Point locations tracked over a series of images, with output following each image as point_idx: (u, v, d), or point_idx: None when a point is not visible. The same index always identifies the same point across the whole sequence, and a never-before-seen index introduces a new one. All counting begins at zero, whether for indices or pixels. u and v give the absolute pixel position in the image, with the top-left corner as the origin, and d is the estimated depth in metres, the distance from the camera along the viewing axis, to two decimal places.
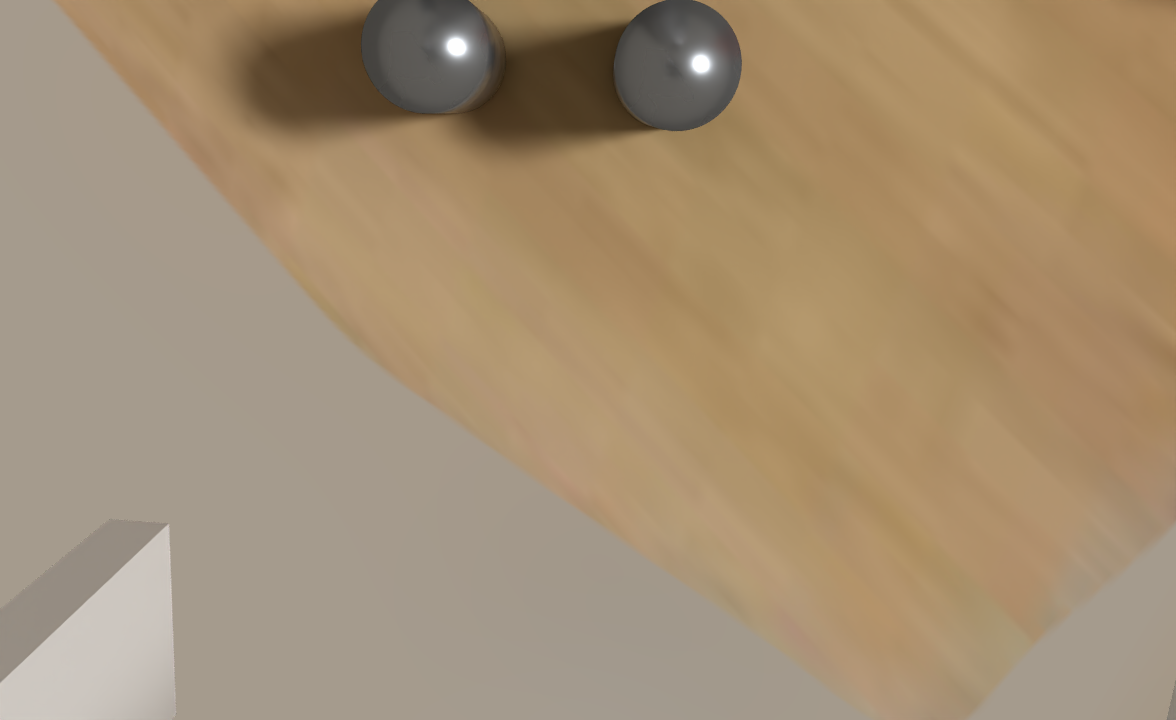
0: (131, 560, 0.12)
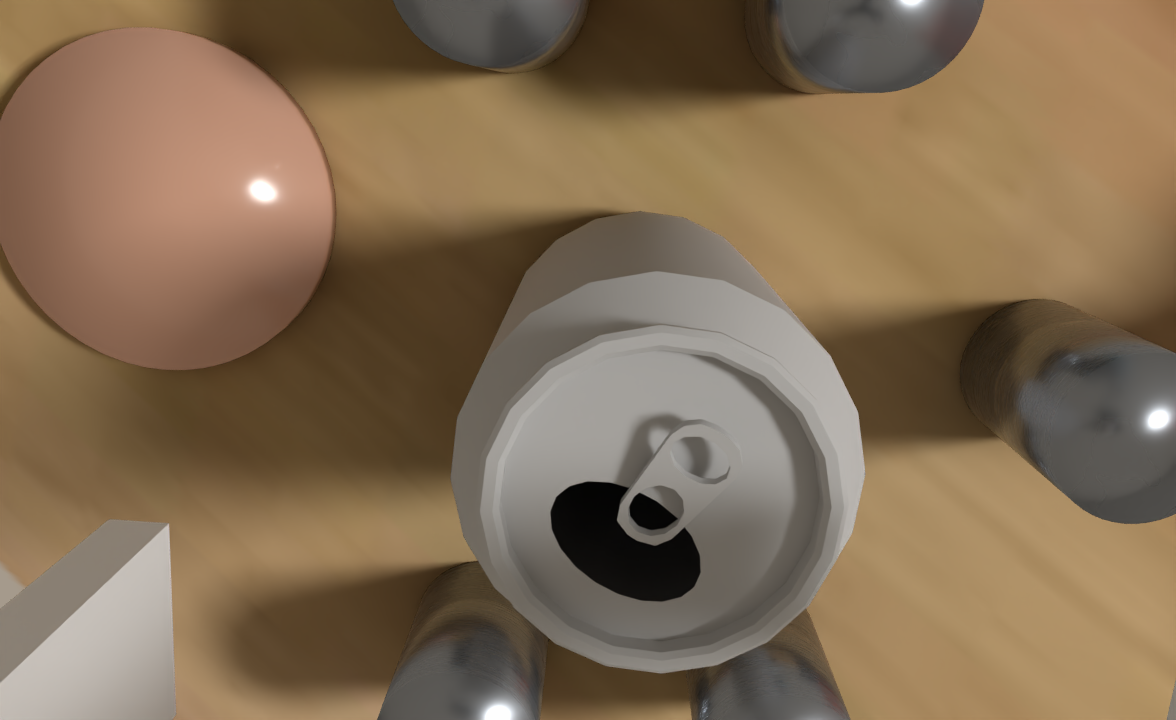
0: (131, 560, 0.12)
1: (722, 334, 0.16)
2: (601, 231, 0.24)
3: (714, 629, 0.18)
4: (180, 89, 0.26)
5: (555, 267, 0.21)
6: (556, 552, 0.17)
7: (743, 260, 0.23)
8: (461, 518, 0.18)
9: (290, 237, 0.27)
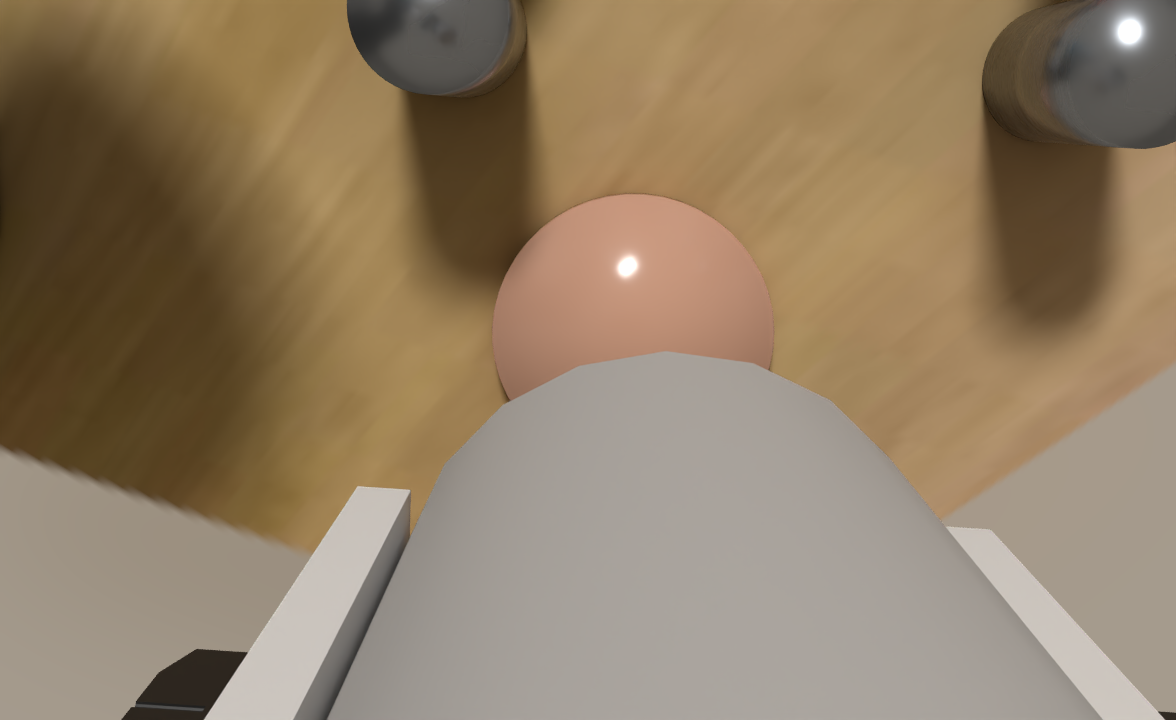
0: (394, 520, 0.13)
1: None
2: (589, 427, 0.11)
3: None
4: (539, 309, 0.32)
5: (470, 566, 0.09)
6: None
7: (913, 504, 0.10)
8: None
9: (661, 229, 0.31)
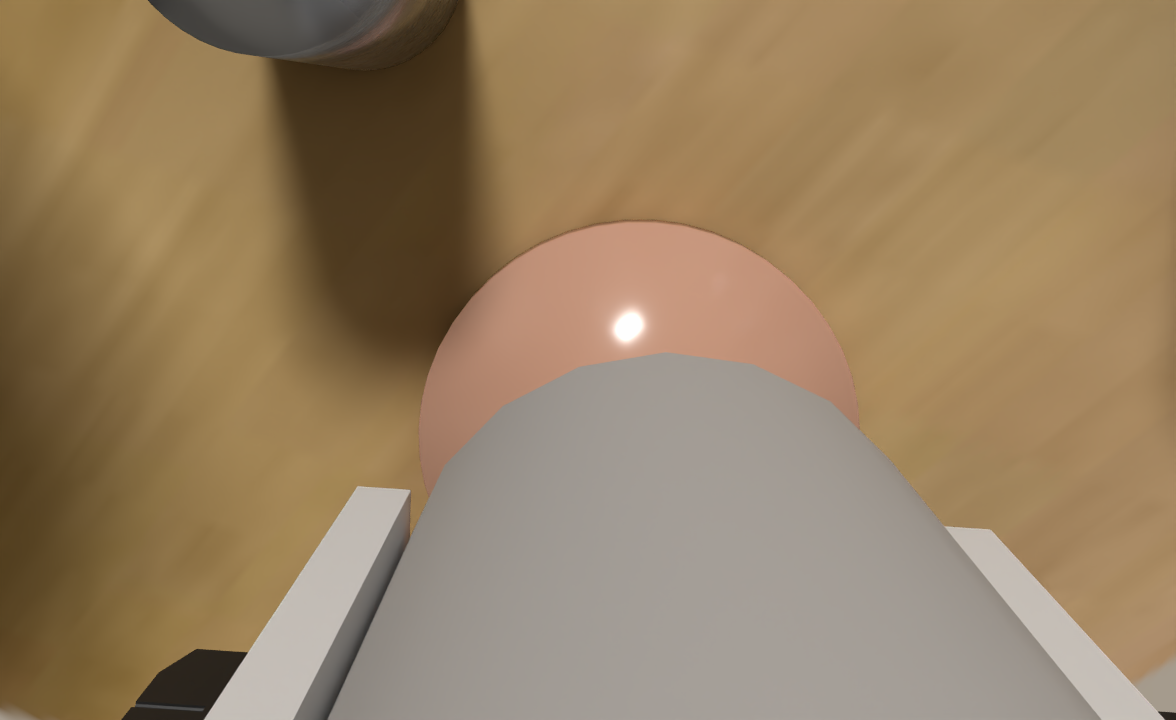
0: (394, 520, 0.13)
1: None
2: (589, 429, 0.11)
3: None
4: (492, 402, 0.20)
5: (470, 568, 0.08)
6: None
7: (913, 506, 0.10)
8: None
9: (682, 278, 0.20)
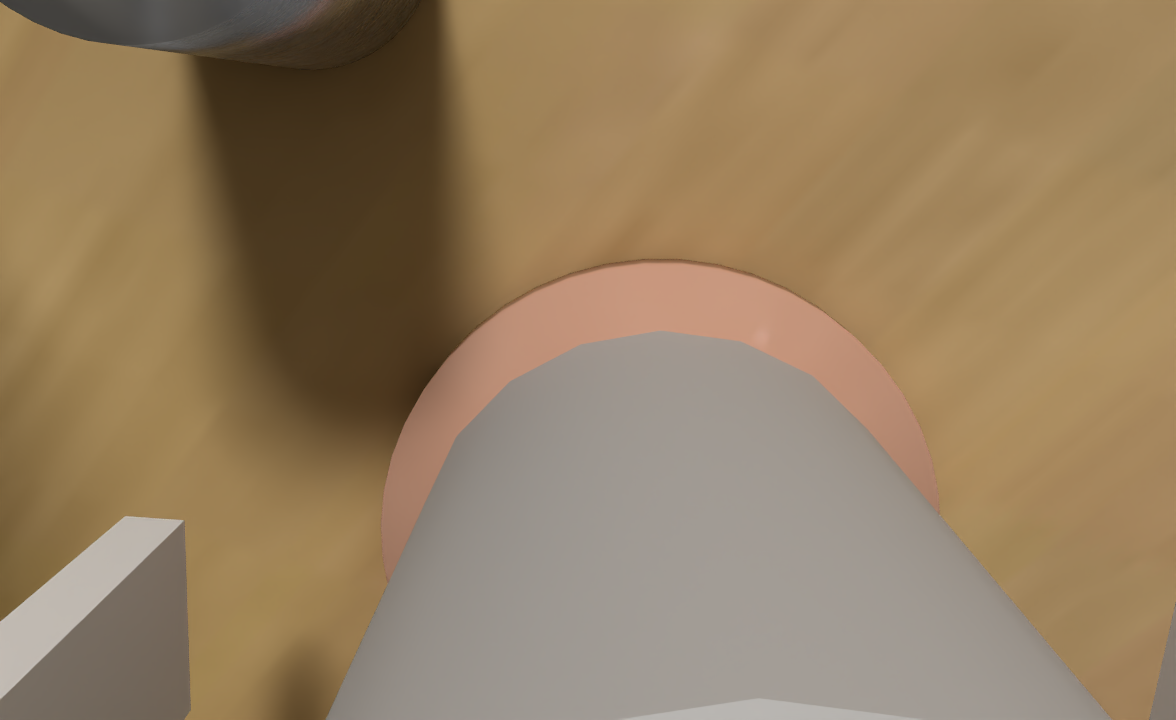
0: (148, 556, 0.12)
1: None
2: (590, 394, 0.12)
3: None
4: None
5: (485, 509, 0.10)
6: None
7: (882, 460, 0.11)
8: None
9: (716, 335, 0.15)
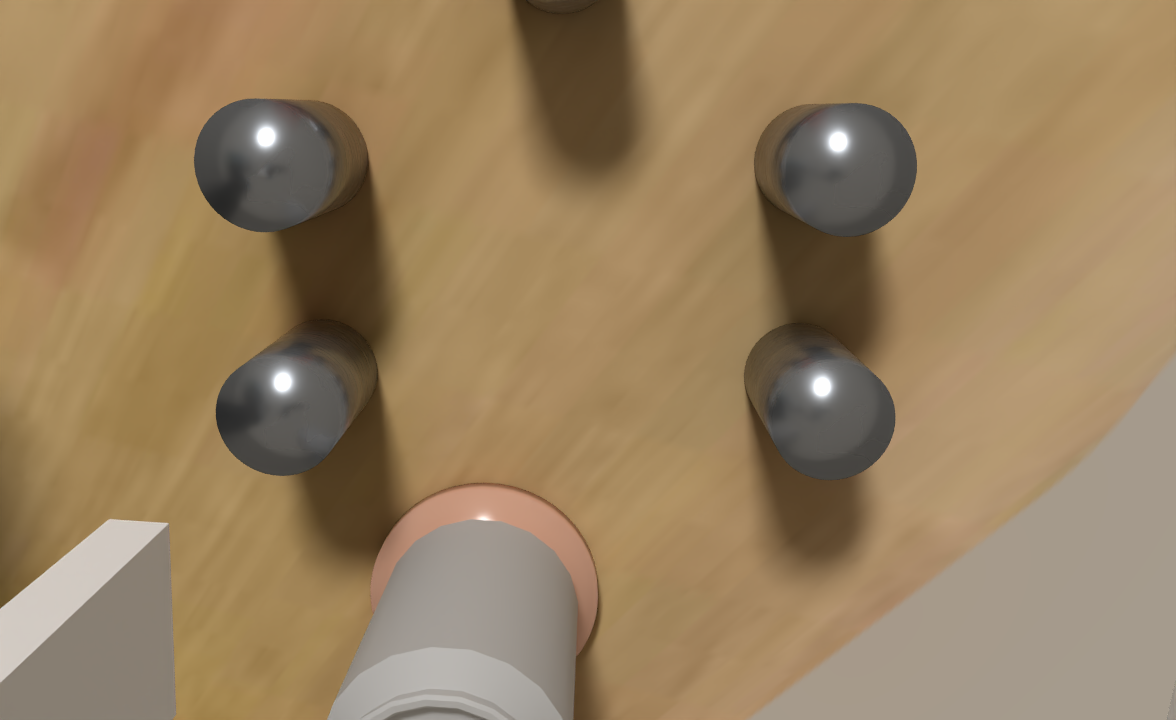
0: (131, 560, 0.12)
1: (461, 697, 0.28)
2: (433, 556, 0.35)
3: None
4: None
5: (394, 602, 0.33)
6: None
7: (526, 575, 0.35)
8: None
9: (498, 515, 0.39)
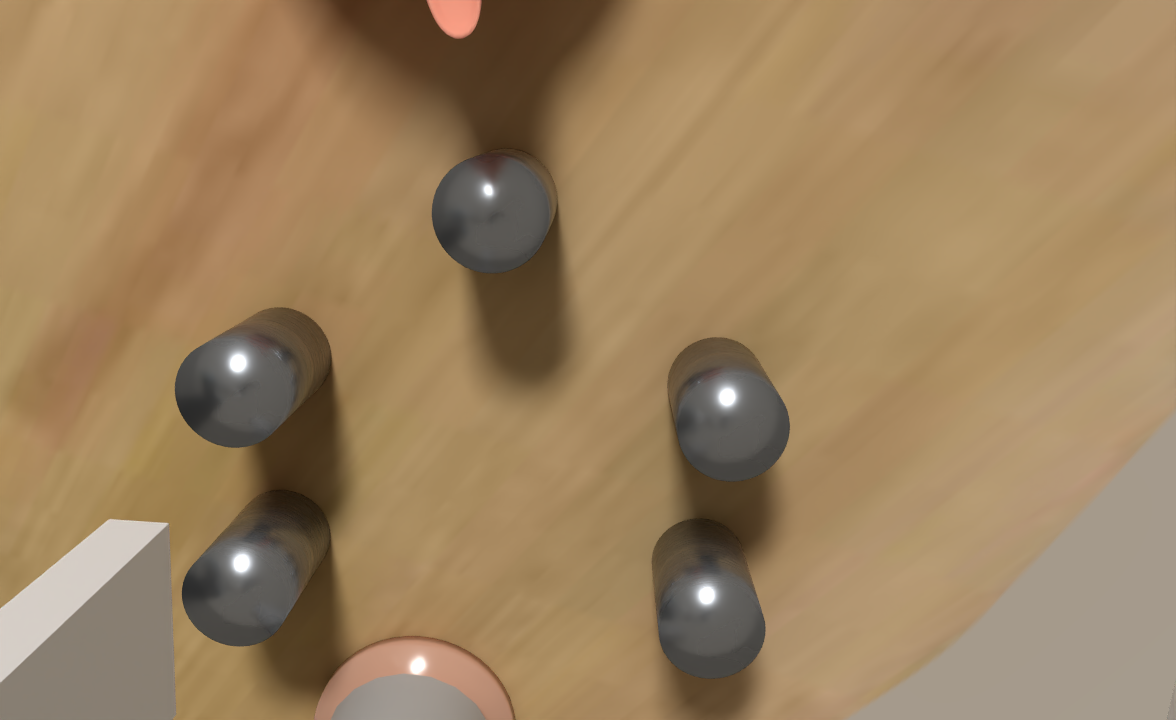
0: (131, 559, 0.12)
1: None
2: (366, 715, 0.41)
3: None
4: None
5: None
6: None
7: None
8: None
9: (429, 667, 0.44)
